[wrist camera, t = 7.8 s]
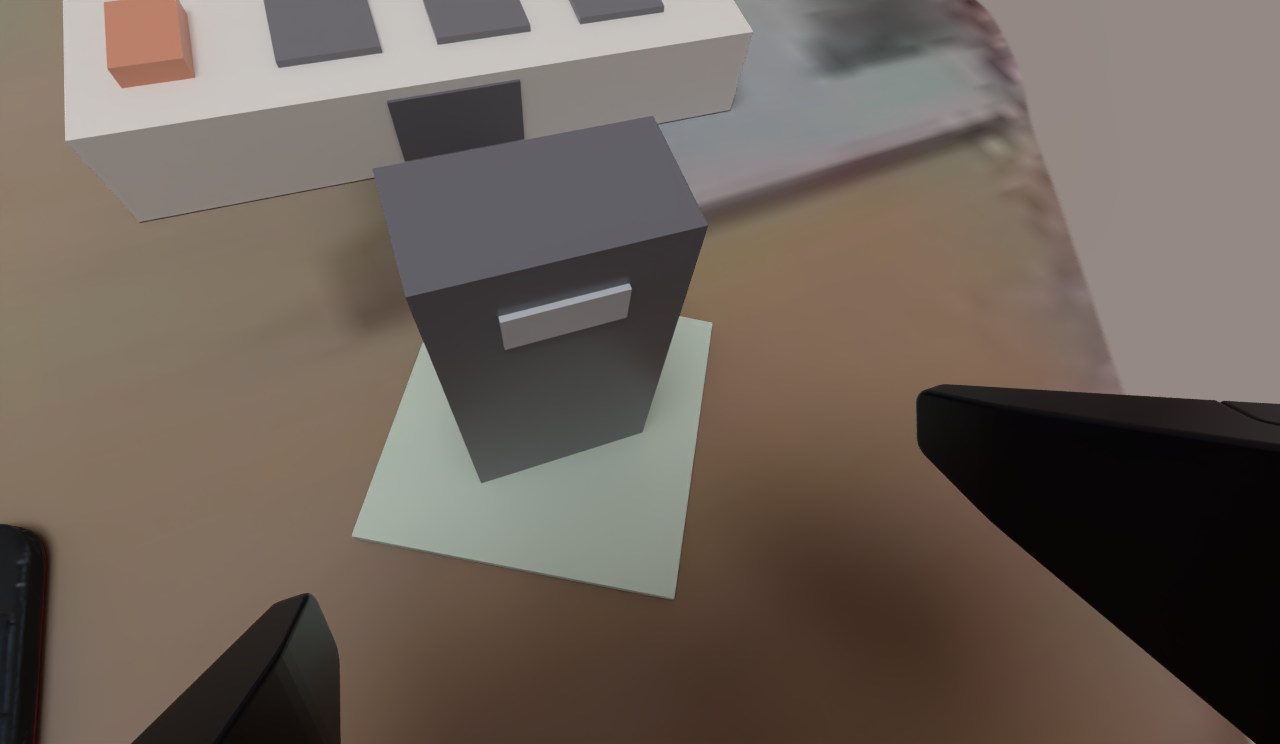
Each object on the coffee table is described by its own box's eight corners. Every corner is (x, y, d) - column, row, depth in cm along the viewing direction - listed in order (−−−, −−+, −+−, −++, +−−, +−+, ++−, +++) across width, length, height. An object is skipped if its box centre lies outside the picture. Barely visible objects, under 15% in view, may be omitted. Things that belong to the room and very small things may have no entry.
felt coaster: (710, 328, 22) (712, 322, 22) (671, 600, 18) (674, 598, 18) (451, 276, 22) (449, 269, 22) (355, 538, 18) (351, 536, 18)
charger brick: (643, 436, 20) (710, 231, 11) (482, 487, 19) (407, 304, 10) (614, 360, 21) (653, 115, 12) (459, 404, 20) (372, 168, 11)
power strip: (672, 7, 29) (689, -95, 26) (731, 111, 27) (759, 16, 23) (129, 85, 24) (47, -29, 20) (140, 224, 22) (47, 124, 18)
